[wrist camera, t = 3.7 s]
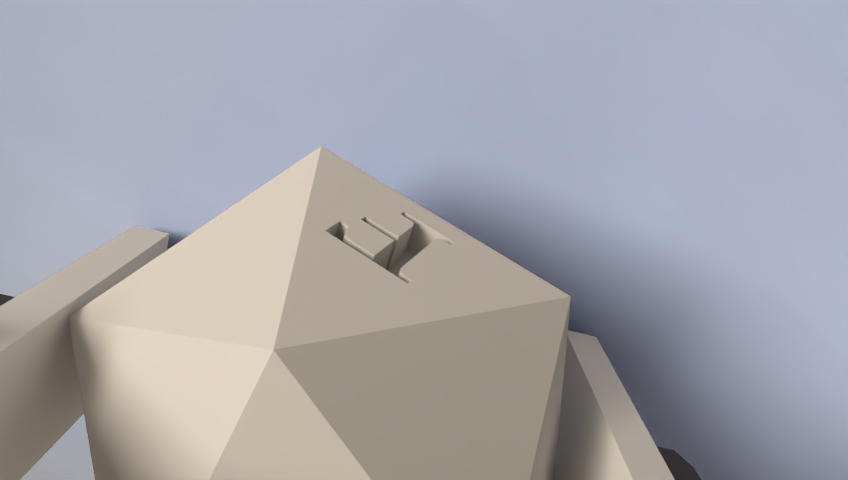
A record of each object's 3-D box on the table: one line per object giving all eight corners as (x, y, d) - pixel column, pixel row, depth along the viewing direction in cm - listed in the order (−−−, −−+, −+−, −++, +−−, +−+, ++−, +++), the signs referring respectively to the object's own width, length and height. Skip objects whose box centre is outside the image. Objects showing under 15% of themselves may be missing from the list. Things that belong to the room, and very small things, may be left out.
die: (600, 387, 18) (748, 245, 9) (403, 723, 15) (326, 1000, 6) (339, 222, 20) (242, -31, 11) (127, 495, 17) (-229, 460, 8)
